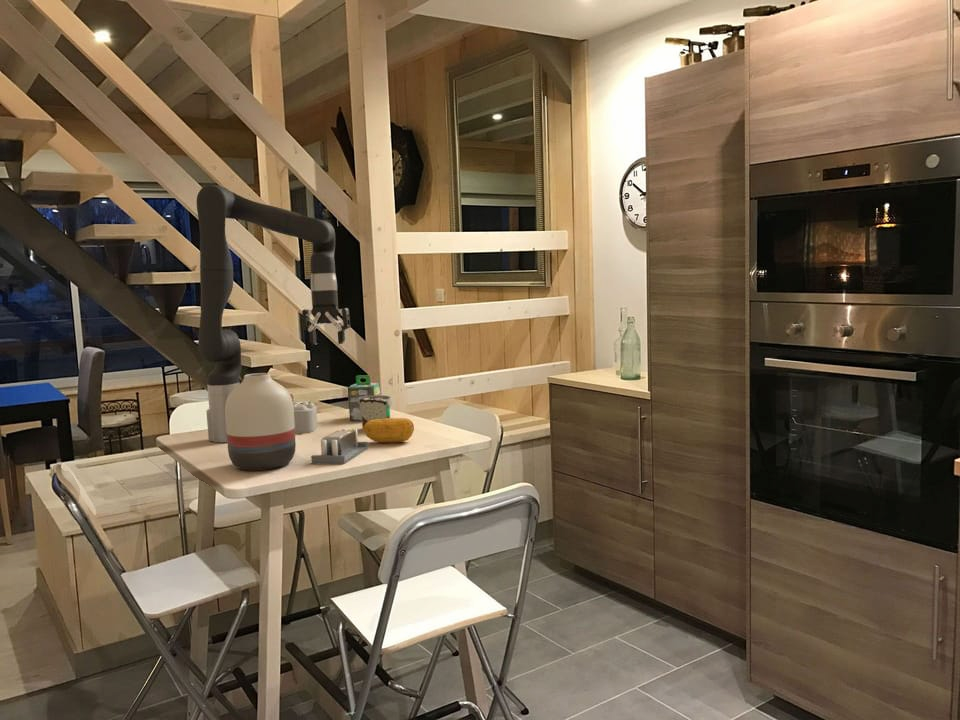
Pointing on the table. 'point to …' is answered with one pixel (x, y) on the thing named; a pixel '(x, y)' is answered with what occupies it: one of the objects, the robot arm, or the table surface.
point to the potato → (389, 430)
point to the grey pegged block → (335, 457)
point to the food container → (374, 407)
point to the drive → (341, 442)
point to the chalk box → (360, 394)
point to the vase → (260, 424)
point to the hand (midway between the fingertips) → (327, 343)
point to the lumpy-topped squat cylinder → (305, 417)
